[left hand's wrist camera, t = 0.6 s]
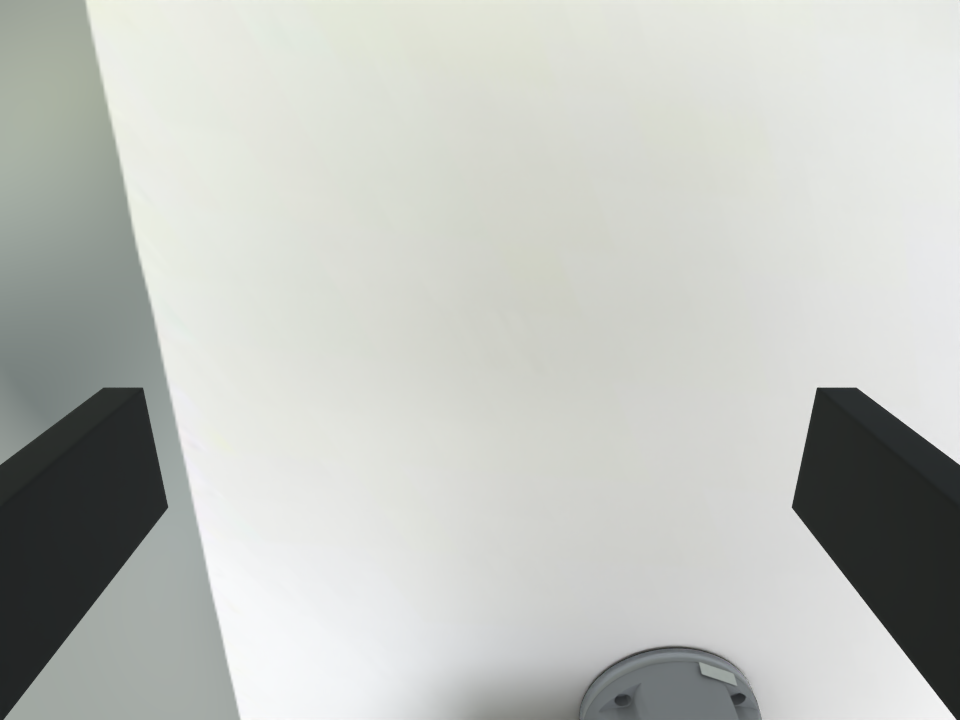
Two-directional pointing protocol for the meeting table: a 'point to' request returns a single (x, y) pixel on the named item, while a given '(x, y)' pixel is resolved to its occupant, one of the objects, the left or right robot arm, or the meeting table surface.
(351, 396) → the meeting table surface
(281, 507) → the meeting table surface
